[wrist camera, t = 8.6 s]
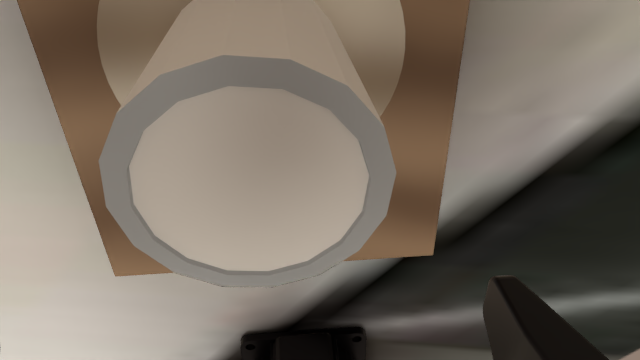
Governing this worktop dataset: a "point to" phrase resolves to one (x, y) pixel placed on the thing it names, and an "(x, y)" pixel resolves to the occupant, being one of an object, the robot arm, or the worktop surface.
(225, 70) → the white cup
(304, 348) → the robot arm
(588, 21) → the worktop surface
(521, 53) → the worktop surface
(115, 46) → the serving board
